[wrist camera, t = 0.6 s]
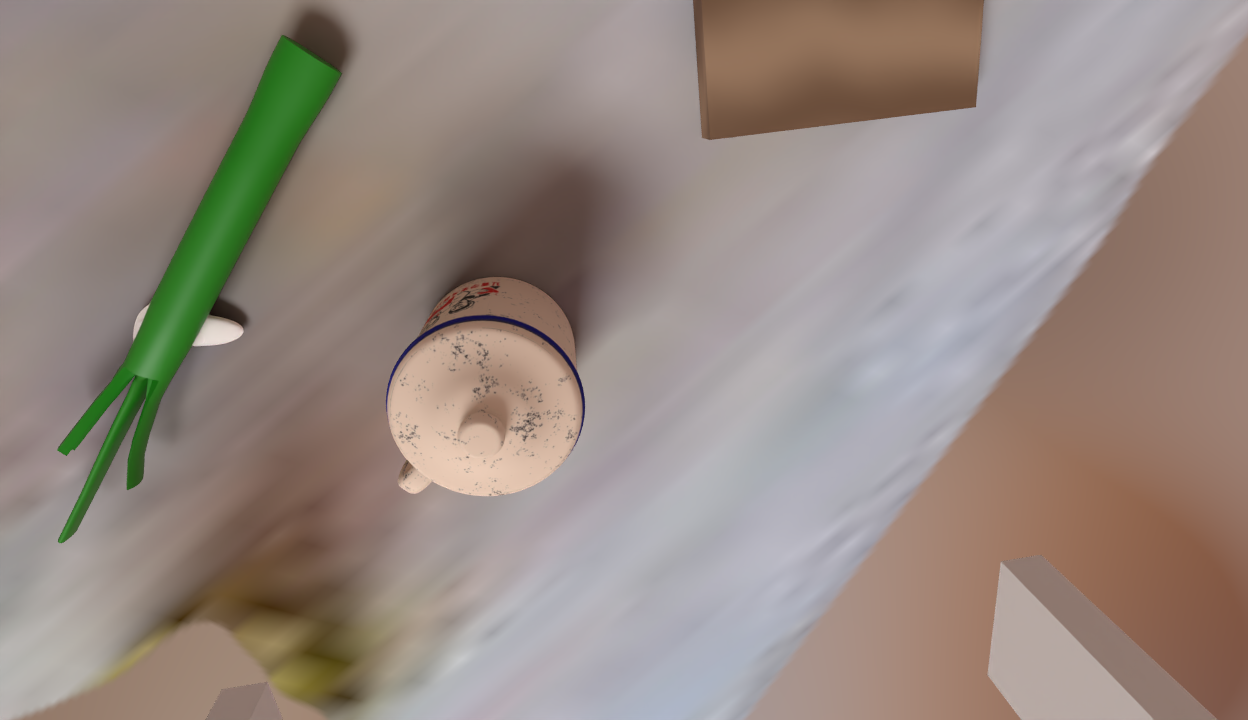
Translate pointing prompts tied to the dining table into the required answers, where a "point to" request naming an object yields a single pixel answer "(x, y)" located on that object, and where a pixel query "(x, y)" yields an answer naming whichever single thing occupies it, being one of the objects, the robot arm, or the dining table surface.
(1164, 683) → the robot arm
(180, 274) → the green onion
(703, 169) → the dining table surface
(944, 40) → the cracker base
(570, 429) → the teacup with lid
